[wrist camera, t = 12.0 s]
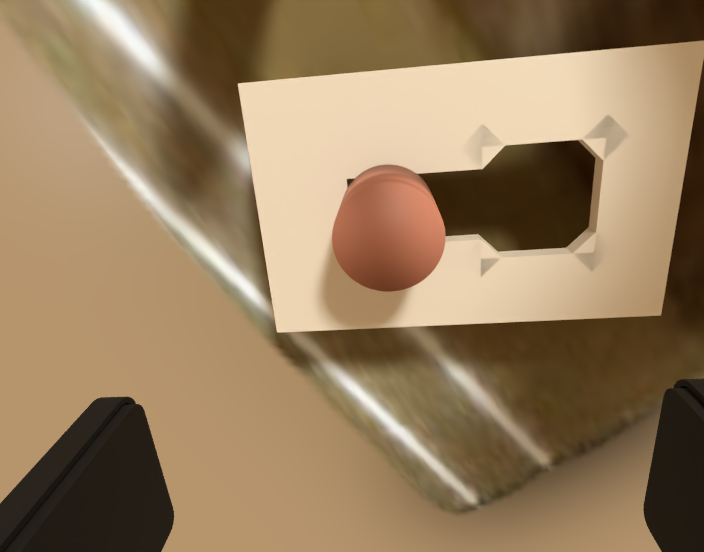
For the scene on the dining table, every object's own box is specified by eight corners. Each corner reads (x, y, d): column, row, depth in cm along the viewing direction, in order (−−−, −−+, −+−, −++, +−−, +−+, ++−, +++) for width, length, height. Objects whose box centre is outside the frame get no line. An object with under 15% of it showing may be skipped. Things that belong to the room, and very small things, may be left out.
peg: (424, 146, 31) (444, 178, 20) (426, 223, 32) (446, 288, 22) (345, 152, 31) (326, 187, 21) (352, 228, 33) (337, 294, 23)
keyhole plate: (629, 50, 29) (706, 40, 22) (605, 268, 34) (660, 315, 27) (270, 83, 31) (237, 83, 24) (297, 284, 36) (276, 332, 29)
